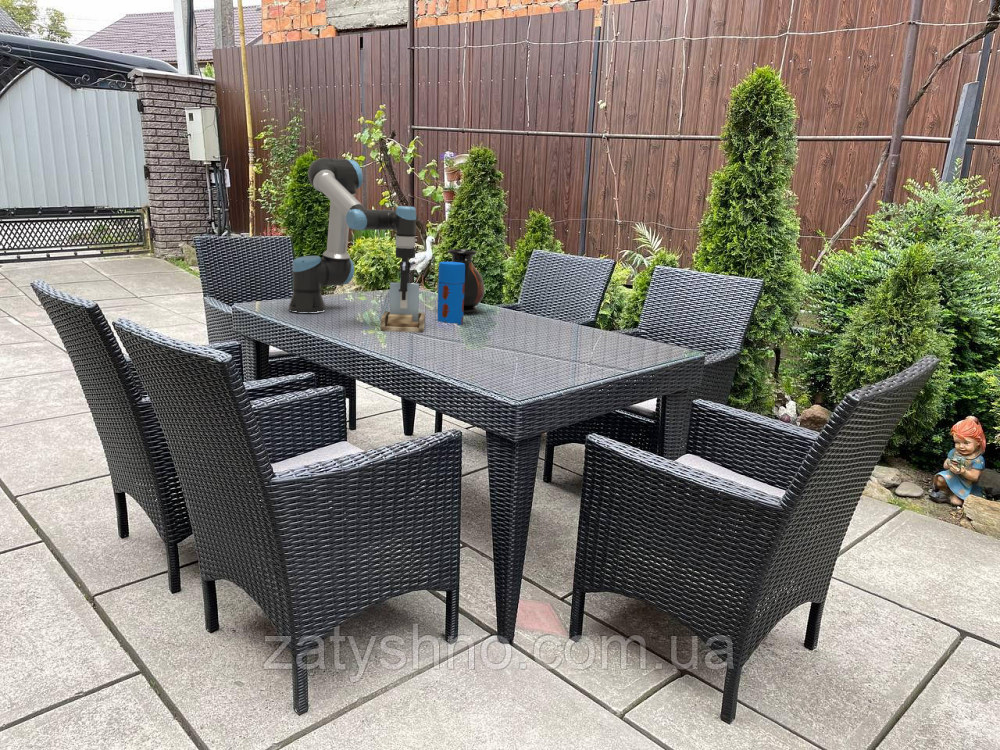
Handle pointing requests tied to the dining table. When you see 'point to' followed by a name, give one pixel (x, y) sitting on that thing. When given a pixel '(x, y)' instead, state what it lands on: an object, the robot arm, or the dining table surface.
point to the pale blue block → (411, 300)
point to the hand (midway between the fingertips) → (404, 306)
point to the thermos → (451, 292)
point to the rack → (402, 329)
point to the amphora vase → (469, 279)
